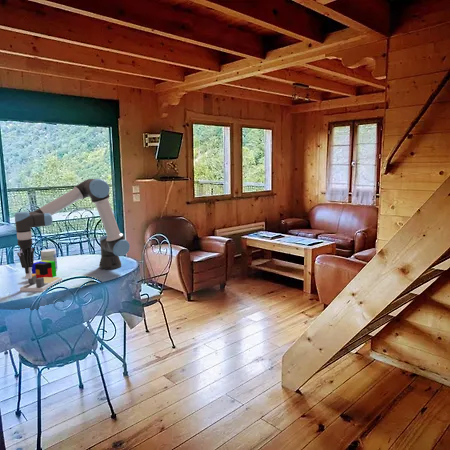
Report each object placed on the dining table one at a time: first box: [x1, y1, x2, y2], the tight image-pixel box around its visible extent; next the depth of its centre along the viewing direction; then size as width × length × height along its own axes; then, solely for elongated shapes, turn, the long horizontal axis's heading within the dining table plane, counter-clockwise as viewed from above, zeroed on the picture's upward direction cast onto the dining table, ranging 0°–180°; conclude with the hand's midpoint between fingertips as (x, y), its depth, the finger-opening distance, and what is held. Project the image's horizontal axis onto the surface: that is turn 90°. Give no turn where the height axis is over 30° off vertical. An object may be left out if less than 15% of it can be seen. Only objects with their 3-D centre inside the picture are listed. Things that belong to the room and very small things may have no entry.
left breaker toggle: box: [36, 278, 44, 287], centre depth 223 cm, size 3×3×4 cm
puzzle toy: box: [31, 260, 57, 279], centre depth 249 cm, size 10×10×10 cm
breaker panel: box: [19, 276, 63, 292], centre depth 232 cm, size 14×21×2 cm, turn 174°
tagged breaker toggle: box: [27, 274, 36, 284], centre depth 229 cm, size 3×3×5 cm
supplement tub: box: [40, 248, 58, 272], centre depth 264 cm, size 10×10×15 cm
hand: (29, 278), depth 225 cm, fingers closed
